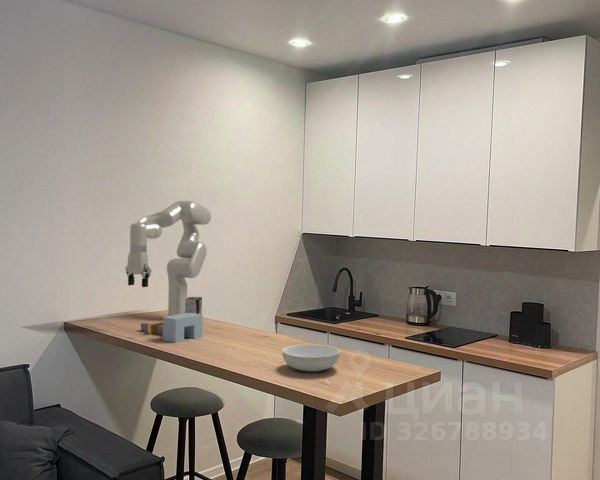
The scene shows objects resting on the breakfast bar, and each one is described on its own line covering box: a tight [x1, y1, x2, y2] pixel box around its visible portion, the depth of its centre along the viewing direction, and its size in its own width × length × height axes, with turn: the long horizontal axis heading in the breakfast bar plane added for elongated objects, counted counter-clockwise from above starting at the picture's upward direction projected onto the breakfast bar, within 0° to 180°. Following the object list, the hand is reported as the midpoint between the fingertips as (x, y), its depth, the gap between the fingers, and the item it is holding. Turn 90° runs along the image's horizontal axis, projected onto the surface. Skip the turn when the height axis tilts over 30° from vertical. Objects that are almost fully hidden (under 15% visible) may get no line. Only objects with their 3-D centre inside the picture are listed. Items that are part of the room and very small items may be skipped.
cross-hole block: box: [162, 313, 204, 344], centre depth 259 cm, size 8×16×10 cm, turn 144°
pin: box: [140, 321, 163, 337], centre depth 268 cm, size 24×8×5 cm, turn 54°
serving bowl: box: [281, 343, 341, 373], centre depth 214 cm, size 21×21×7 cm
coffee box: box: [185, 296, 203, 315], centre depth 273 cm, size 9×6×16 cm
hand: (138, 286), depth 276 cm, fingers open, 9 cm apart
